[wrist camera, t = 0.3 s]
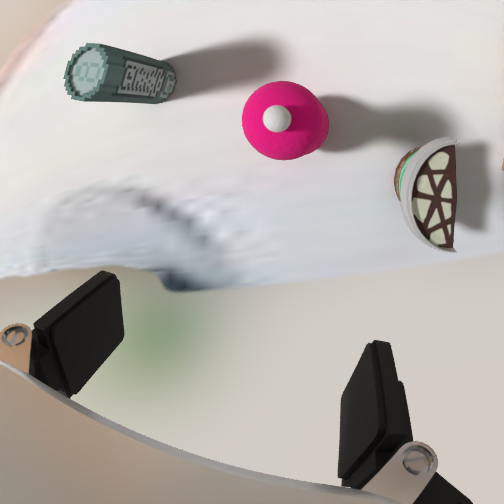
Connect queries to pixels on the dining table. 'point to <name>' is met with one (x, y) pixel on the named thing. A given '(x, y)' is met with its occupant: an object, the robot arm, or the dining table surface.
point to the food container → (429, 192)
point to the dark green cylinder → (117, 76)
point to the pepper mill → (284, 121)
